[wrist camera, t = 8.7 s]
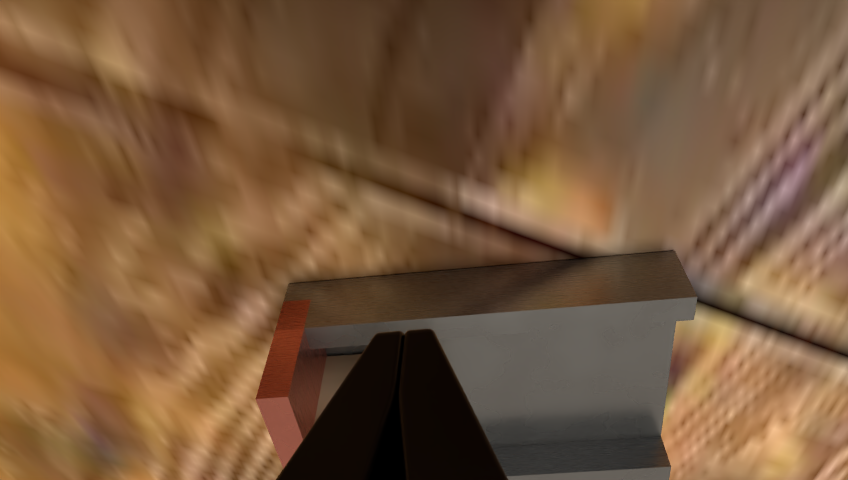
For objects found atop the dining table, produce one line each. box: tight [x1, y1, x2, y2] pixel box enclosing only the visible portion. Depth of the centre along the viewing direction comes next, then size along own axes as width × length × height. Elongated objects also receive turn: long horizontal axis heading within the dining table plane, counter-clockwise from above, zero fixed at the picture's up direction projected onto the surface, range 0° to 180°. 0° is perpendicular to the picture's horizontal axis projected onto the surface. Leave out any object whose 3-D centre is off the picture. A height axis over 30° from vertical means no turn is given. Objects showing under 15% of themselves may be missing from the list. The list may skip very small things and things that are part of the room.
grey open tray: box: [256, 251, 697, 480], centre depth 25 cm, size 14×10×6 cm
